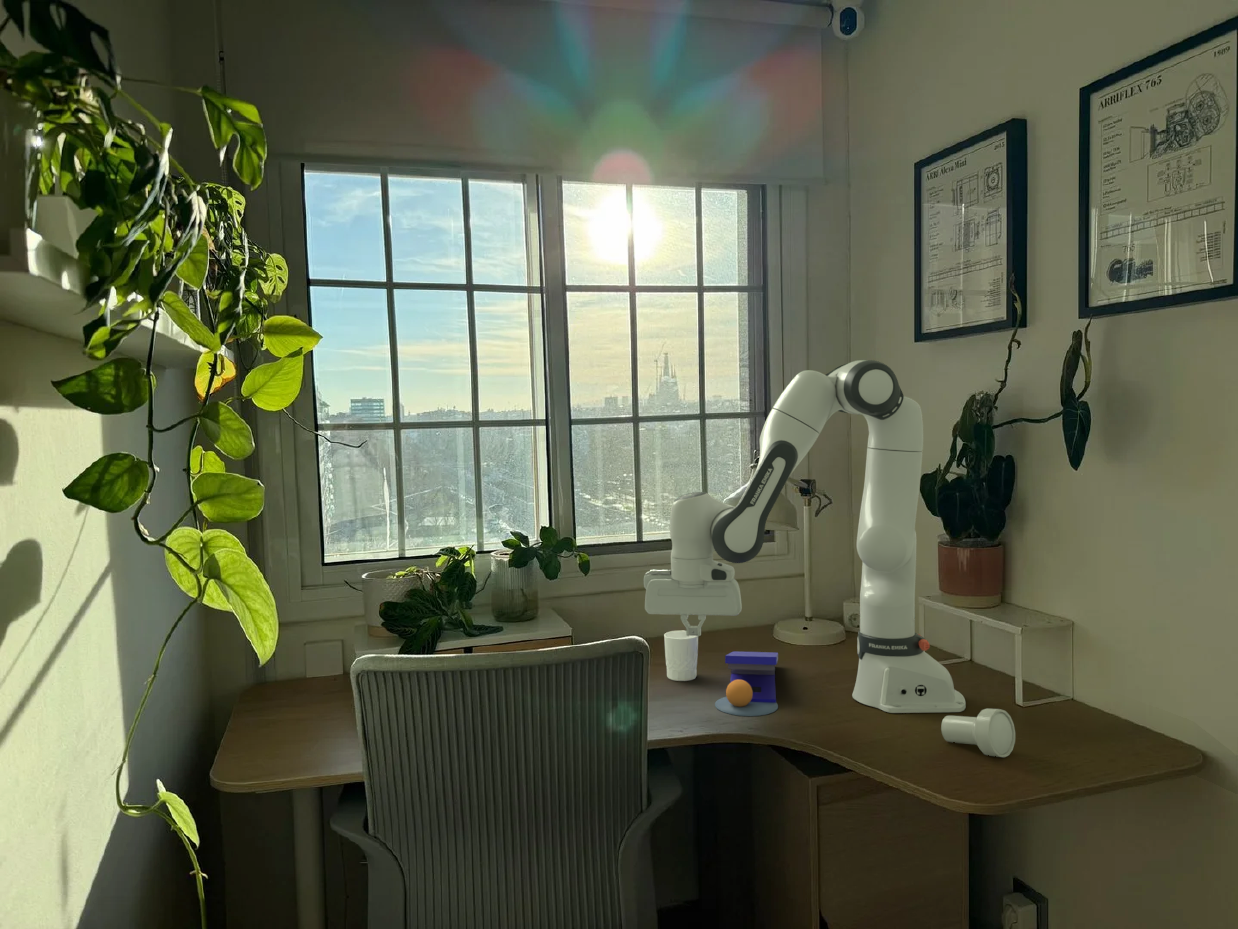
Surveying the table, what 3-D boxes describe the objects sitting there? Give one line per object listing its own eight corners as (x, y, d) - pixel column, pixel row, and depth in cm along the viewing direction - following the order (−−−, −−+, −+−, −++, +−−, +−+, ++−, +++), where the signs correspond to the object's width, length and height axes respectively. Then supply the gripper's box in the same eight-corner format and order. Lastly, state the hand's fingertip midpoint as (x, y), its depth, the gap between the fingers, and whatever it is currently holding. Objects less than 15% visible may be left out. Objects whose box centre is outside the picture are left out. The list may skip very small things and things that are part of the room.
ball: (729, 674, 184) (729, 699, 184) (723, 683, 179) (723, 709, 179) (755, 677, 182) (754, 702, 183) (749, 686, 177) (749, 712, 177)
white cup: (698, 672, 205) (698, 630, 205) (698, 682, 198) (698, 639, 197) (665, 672, 206) (664, 630, 206) (663, 682, 198) (663, 638, 198)
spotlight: (993, 759, 148) (989, 709, 150) (935, 752, 157) (933, 706, 159) (1020, 757, 152) (1016, 709, 154) (962, 750, 162) (959, 705, 163)
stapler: (725, 703, 184) (724, 657, 183) (730, 666, 211) (729, 626, 211) (780, 705, 182) (780, 659, 181) (778, 667, 209) (777, 627, 209)
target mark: (778, 697, 186) (778, 696, 186) (777, 718, 173) (777, 717, 173) (718, 694, 189) (718, 693, 189) (711, 714, 176) (711, 713, 176)
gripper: (640, 572, 181) (642, 637, 182) (739, 572, 177) (740, 640, 177) (645, 567, 187) (647, 630, 188) (741, 567, 183) (743, 632, 183)
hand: (693, 635), depth 182 cm, fingers closed
